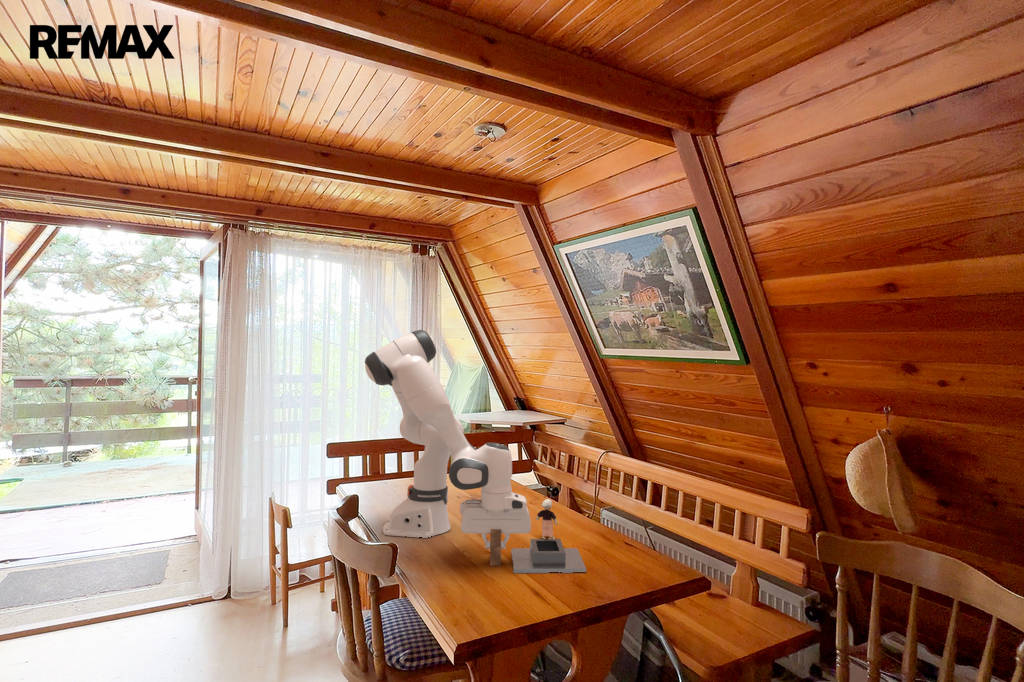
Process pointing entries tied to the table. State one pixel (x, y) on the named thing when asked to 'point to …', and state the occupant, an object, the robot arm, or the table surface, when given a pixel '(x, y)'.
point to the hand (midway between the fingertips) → (495, 547)
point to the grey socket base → (547, 558)
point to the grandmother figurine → (547, 519)
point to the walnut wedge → (495, 548)
